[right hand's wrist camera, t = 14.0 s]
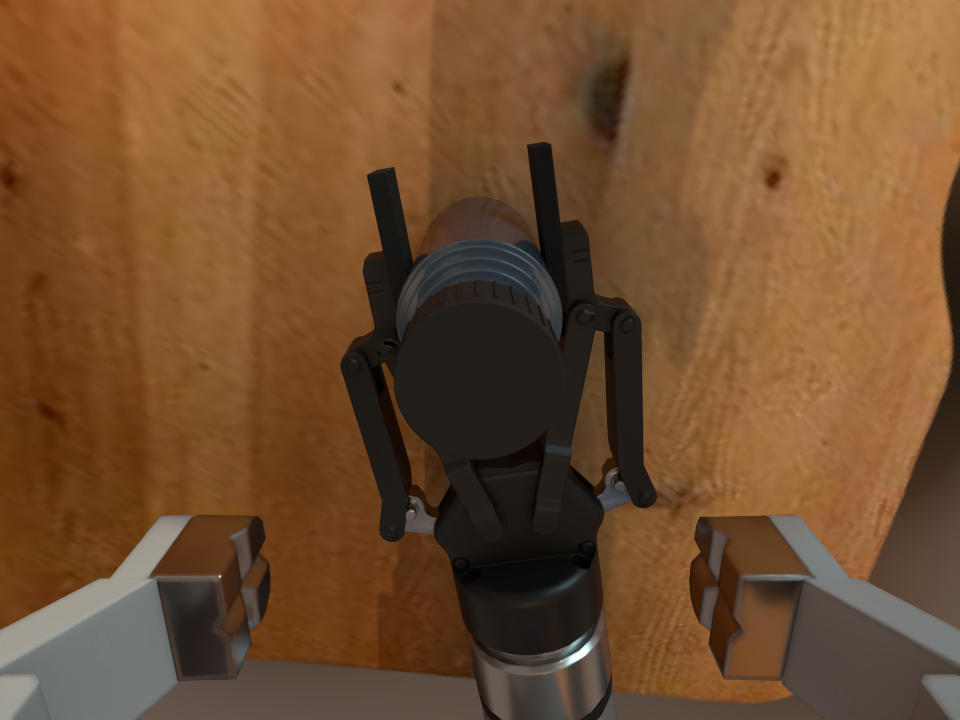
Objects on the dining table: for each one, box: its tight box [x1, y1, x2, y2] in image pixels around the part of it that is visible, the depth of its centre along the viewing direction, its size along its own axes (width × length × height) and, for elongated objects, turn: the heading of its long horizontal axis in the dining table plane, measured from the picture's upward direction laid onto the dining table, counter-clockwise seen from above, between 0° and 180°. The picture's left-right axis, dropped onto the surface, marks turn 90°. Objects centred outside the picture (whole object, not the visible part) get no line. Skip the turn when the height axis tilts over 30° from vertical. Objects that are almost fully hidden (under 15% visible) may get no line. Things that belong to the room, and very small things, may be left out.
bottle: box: [396, 197, 563, 343], centre depth 26 cm, size 6×6×18 cm
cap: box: [393, 279, 565, 460], centre depth 18 cm, size 5×5×2 cm
